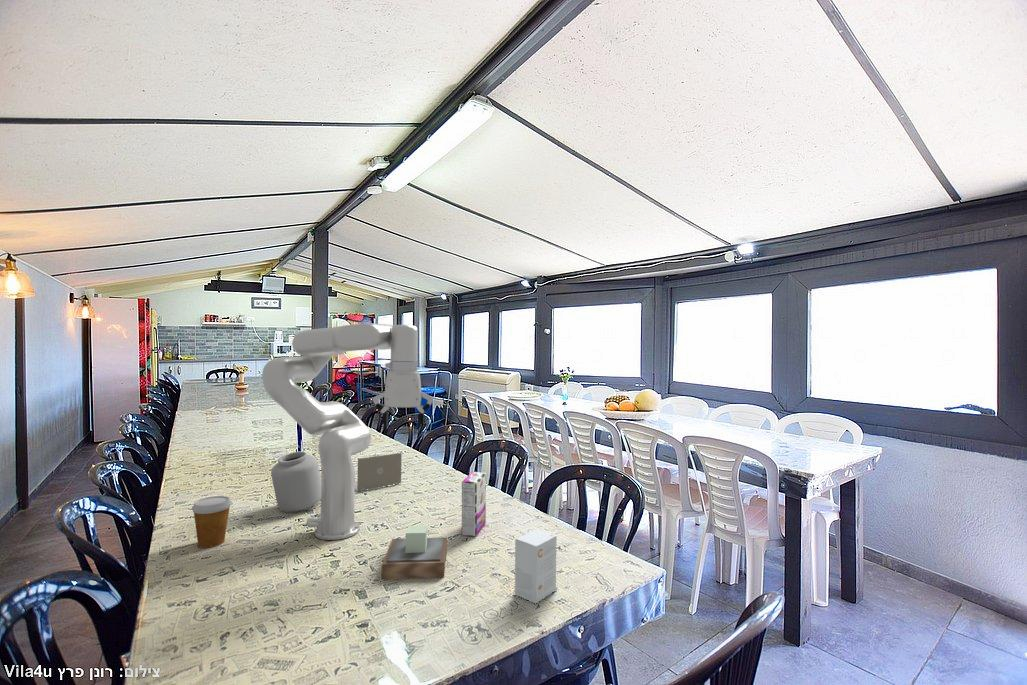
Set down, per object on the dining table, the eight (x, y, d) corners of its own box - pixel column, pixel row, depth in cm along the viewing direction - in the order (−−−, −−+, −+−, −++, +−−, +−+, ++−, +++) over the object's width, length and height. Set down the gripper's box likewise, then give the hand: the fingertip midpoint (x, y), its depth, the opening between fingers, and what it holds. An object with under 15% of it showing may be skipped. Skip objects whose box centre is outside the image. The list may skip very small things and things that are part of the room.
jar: (277, 522, 148) (279, 443, 149) (255, 511, 157) (257, 437, 157) (331, 506, 164) (333, 434, 164) (309, 497, 172) (310, 429, 173)
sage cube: (405, 552, 119) (405, 533, 119) (408, 544, 124) (408, 525, 124) (425, 552, 120) (425, 532, 120) (427, 544, 125) (427, 525, 125)
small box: (535, 581, 114) (536, 528, 114) (556, 590, 110) (557, 535, 110) (513, 594, 108) (514, 538, 108) (535, 605, 104) (536, 546, 104)
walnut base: (381, 579, 114) (382, 562, 114) (391, 551, 129) (392, 537, 129) (444, 577, 115) (444, 561, 115) (446, 550, 130) (447, 536, 130)
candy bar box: (471, 522, 151) (471, 471, 151) (486, 523, 150) (486, 472, 150) (460, 535, 140) (461, 480, 140) (476, 537, 139) (477, 482, 139)
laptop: (389, 477, 200) (389, 447, 200) (401, 484, 190) (401, 452, 190) (346, 484, 189) (347, 452, 189) (357, 493, 179) (357, 458, 179)
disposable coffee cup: (226, 533, 139) (226, 493, 139) (235, 543, 132) (235, 501, 132) (187, 542, 132) (188, 500, 132) (194, 553, 126) (195, 509, 126)
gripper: (370, 367, 131) (369, 428, 131) (433, 368, 133) (432, 428, 132) (376, 366, 138) (375, 424, 138) (435, 367, 140) (434, 424, 140)
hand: (402, 426), depth 135 cm, fingers open, 9 cm apart
